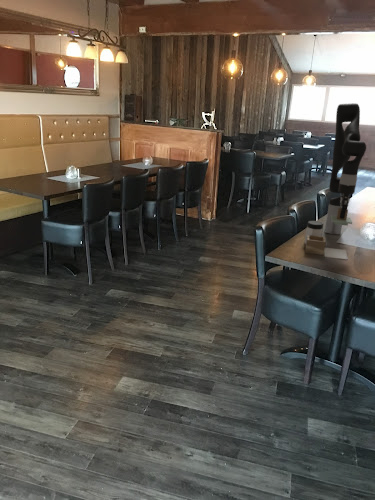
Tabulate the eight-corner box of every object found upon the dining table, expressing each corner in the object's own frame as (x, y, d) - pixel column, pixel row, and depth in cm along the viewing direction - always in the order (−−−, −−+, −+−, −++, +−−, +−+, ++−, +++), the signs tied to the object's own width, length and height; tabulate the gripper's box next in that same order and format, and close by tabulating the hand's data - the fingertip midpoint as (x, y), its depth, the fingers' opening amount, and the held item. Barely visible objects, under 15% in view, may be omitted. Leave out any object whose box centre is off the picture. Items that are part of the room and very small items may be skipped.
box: (305, 247, 220) (307, 234, 218) (323, 249, 218) (325, 237, 216) (305, 252, 212) (307, 239, 210) (323, 255, 210) (325, 242, 207)
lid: (330, 219, 212) (332, 206, 210) (349, 222, 210) (352, 208, 208) (331, 224, 204) (333, 210, 201) (351, 226, 202) (354, 212, 199)
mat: (323, 248, 220) (323, 247, 220) (345, 250, 218) (345, 250, 218) (324, 257, 207) (324, 256, 207) (347, 260, 204) (347, 259, 204)
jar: (318, 241, 230) (321, 221, 226) (322, 246, 223) (326, 225, 219) (302, 240, 230) (305, 220, 226) (306, 245, 223) (309, 224, 219)
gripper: (338, 180, 207) (333, 213, 213) (340, 184, 195) (334, 220, 200) (354, 181, 206) (348, 215, 211) (357, 186, 193) (350, 221, 199)
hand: (341, 217), depth 206 cm, fingers closed on lid, 3 cm apart
